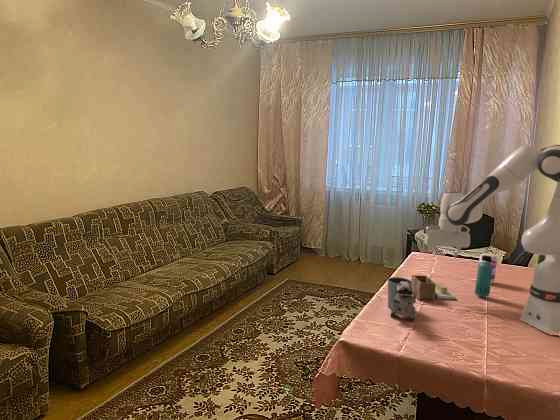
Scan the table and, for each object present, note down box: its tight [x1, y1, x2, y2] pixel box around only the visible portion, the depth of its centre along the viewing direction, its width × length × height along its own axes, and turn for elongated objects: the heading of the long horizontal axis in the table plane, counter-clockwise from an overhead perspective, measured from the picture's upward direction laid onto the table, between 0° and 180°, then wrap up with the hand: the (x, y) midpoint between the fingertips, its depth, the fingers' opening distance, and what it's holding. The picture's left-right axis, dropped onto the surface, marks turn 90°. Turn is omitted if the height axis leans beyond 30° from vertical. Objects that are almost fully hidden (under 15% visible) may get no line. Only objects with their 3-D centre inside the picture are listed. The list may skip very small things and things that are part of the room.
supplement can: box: [478, 252, 498, 286], centre depth 229 cm, size 8×8×15 cm
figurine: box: [390, 281, 417, 323], centre depth 174 cm, size 9×12×15 cm
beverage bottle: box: [474, 255, 493, 297], centre depth 206 cm, size 6×7×20 cm
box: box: [410, 274, 436, 302], centre depth 204 cm, size 12×7×8 cm, turn 1°
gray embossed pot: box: [387, 276, 413, 310], centre depth 187 cm, size 10×10×12 cm
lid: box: [435, 282, 456, 299], centre depth 207 cm, size 13×8×4 cm, turn 1°
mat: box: [434, 296, 458, 301], centre depth 208 cm, size 14×10×1 cm
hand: (445, 255), depth 205 cm, fingers open, 8 cm apart
